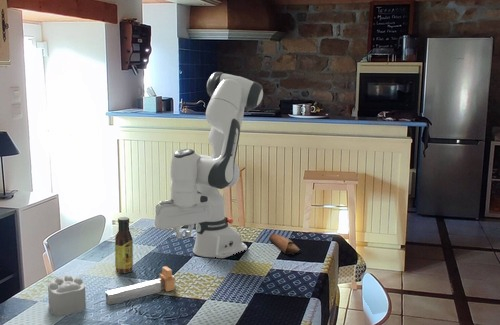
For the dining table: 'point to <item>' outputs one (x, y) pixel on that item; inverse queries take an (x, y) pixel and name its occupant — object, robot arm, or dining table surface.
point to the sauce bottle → (123, 247)
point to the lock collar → (168, 278)
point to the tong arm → (134, 292)
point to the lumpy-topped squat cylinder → (66, 295)
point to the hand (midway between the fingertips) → (183, 237)
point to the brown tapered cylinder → (283, 243)
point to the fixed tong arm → (138, 285)
